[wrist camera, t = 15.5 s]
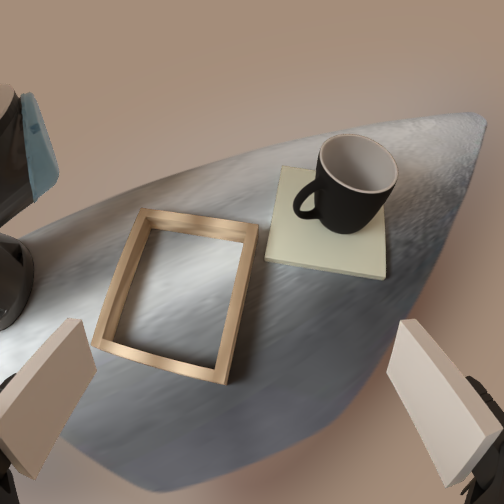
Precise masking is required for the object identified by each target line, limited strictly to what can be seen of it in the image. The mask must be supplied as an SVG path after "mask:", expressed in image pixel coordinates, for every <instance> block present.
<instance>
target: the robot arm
mask: <svg viewBox="0 0 504 504" xmlns="http://www.w3.org/2000/svg"><path fill="white" fill-rule="evenodd" d="M58 177H59V168H58V164H57V160H56V157H55V154H54V151H53V148H52V144H51V142H50V138H49V136H48V132H47V129H46V127H45V124H44V121H43V118H42V115H41V112H40V109H39V106H38V104H37V101H36V99H35V98H34V95H33V94H32V93H30V92H29V93H26V94H22V95H21V97H20V98H18V96H17V95H16V93H15V91H14V89H13V88H12V86H11V85H10V84H0V228H1V227H2V226H3V225H4V224H6V223H7V222H8V221H9V220H10V219H12V218H13V217H14V216H16V215H17V214H18V213H19V212H21V211H22V210H24V209H25V208H26V207H28V206H29V205H30V204H32V203H33V202H34V203H35V202H36V201H37V199H38V198H39V197H40V196H41V195H42V194H44V193H45V192H46V191H48V190H49V189H50V188H51V187H53V186H54V185H55V183H56V182H57V179H58ZM33 273H34V268H33V260H32V257H31V254H30V252H29V250H28V249H27V248H26V247H25V246H24V245H23V244H22V243H21V242H20V241H18V240H17V239H15V238H13V237H11V236H8V235H5V234H2V233H0V330H3V329H5V328H7V327H8V326H10V325H11V324H12V323H13V322H14V321H15V320H16V319H17V317H18V316H19V315H20V313H21V312H22V310H23V308H24V306H25V304H26V302H27V300H28V297H29V294H30V291H31V287H32V283H33ZM96 372H97V369H96V366H95V363H94V360H93V357H92V353H91V350H90V347H89V344H88V340H87V337H86V333H85V330H84V326H83V322H82V320H81V319H72V318H67V319H66V320H65V321H64V322H63V324H62V325H61V326H60V327H59V328H58V329H57V330H56V331H55V332H54V333H53V334H52V335H51V336H50V337H49V338H48V339H47V340H46V342H45V343H44V344H43V345H42V346H41V347H40V348H39V349H38V350H37V351H36V352H35V354H34V355H33V356H32V357H31V358H30V359H29V360H28V361H27V363H26V364H25V365H24V366H23V367H22V368H21V369H20V371H19V372H18V373H15V374H13V375H12V376H10V377H9V378H7V379H5V381H4V382H3V383H2V384H1V385H0V504H19V500H18V496H17V492H16V488H15V484H14V480H13V475H12V473H11V471H10V470H9V467H10V465H11V463H12V465H13V466H14V467H15V468H16V469H17V471H18V472H19V473H21V474H23V475H25V476H27V477H29V478H31V479H33V480H36V478H37V476H38V474H39V472H40V470H41V468H42V466H43V464H44V462H45V460H46V459H47V457H48V455H49V453H50V451H51V449H52V447H53V446H54V444H55V442H56V440H57V438H58V436H59V435H60V433H61V431H62V429H63V428H64V426H65V424H66V422H67V420H68V419H69V417H70V415H71V414H72V412H73V410H74V408H75V407H76V405H77V403H78V402H79V400H80V398H81V397H82V395H83V393H84V391H85V390H86V388H87V387H88V385H89V383H90V382H91V380H92V378H93V377H94V375H95V373H96ZM386 373H387V374H388V376H389V378H390V380H391V382H392V383H393V385H394V387H395V389H396V391H397V393H398V395H399V397H400V398H401V400H402V402H403V404H404V406H405V408H406V410H407V411H408V413H409V415H410V417H411V419H412V421H413V423H414V425H415V427H416V429H417V431H418V433H419V435H420V437H421V439H422V441H423V443H424V445H425V447H426V449H427V451H428V453H429V455H430V457H431V459H432V461H433V463H434V465H435V467H436V470H437V472H438V474H439V476H440V478H441V480H442V482H443V485H444V487H445V488H448V487H450V486H453V485H455V484H457V483H460V482H462V481H464V479H465V478H466V477H467V476H468V475H469V473H470V472H471V471H472V473H473V475H474V476H475V477H474V478H473V479H472V480H471V481H470V483H469V484H468V485H467V486H466V487H465V488H464V489H463V490H462V492H461V495H463V494H464V493H465V492H466V491H467V490H468V489H469V490H468V494H467V497H466V500H465V503H464V504H504V412H503V411H502V410H501V408H500V407H499V406H498V404H497V403H496V402H495V401H493V398H492V397H491V395H490V394H488V393H487V391H486V389H485V388H484V387H483V385H482V384H481V383H480V382H478V381H477V380H475V379H474V378H472V377H471V376H467V377H464V375H463V374H462V373H461V372H460V370H459V369H458V368H457V367H456V366H455V364H454V363H453V362H452V361H451V359H450V358H449V357H448V356H447V355H446V354H445V352H444V351H443V350H442V349H441V348H440V346H439V345H438V344H437V343H436V342H435V340H434V339H433V338H432V337H431V336H430V335H429V334H428V332H427V331H426V330H425V329H424V328H423V327H422V326H421V325H420V323H419V322H418V321H417V320H416V319H408V320H400V323H399V327H398V332H397V336H396V340H395V343H394V347H393V351H392V355H391V358H390V362H389V365H388V369H387V372H386Z"/></svg>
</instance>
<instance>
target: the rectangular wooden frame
mask: <svg viewBox="0 0 504 504" xmlns="http://www.w3.org/2000/svg"><path fill="white" fill-rule="evenodd" d="M152 228H153V229H159V230H166V231H172V232H178V233H185V234H191V235H197V236H204V237H210V238H216V239H222V240H229V241H235V242H241V243H244V244H243V249H242V253H241V257H240V261H239V266H238V270H237V274H236V278H235V283H234V287H233V291H232V296H231V300H230V304H229V309H228V313H227V317H226V322H225V326H224V330H223V335H222V339H221V343H220V348H219V352H218V357H217V361H216V366H215V370H213V369H209V368H204V367H200V366H196V365H192V364H188V363H184V362H180V361H176V360H172V359H168V358H164V357H161V356H157V355H154V354H150V353H147V352H143V351H140V350H137V349H133V348H130V347H127V346H124V345H120V344H117V343H114V342H113V339H114V336H115V333H116V329H117V326H118V323H119V319H120V316H121V313H122V310H123V307H124V304H125V301H126V298H127V295H128V292H129V289H130V286H131V283H132V280H133V277H134V274H135V271H136V269H137V266H138V263H139V260H140V258H141V255H142V252H143V250H144V247H145V244H146V242H147V239H148V236H149V234H150V231H151V229H152ZM258 231H259V225H257V224H251V223H245V222H238V221H231V220H225V219H218V218H211V217H204V216H197V215H190V214H183V213H176V212H168V211H161V210H153V209H146V208H141V209H140V211H139V213H138V216H137V218H136V220H135V222H134V225H133V227H132V230H131V232H130V234H129V237H128V239H127V242H126V244H125V247H124V249H123V252H122V254H121V257H120V259H119V262H118V264H117V267H116V270H115V272H114V275H113V278H112V281H111V283H110V286H109V289H108V292H107V295H106V298H105V301H104V304H103V307H102V310H101V313H100V316H99V319H98V322H97V325H96V328H95V332H94V335H93V338H92V342H91V346H93V347H95V348H98V349H100V350H102V351H105V352H108V353H111V354H114V355H117V356H120V357H123V358H126V359H129V360H132V361H135V362H138V363H142V364H145V365H148V366H152V367H155V368H158V369H162V370H166V371H169V372H173V373H177V374H180V375H184V376H188V377H192V378H196V379H200V380H204V381H209V382H213V383H218V384H222V385H227V381H228V377H229V372H230V367H231V363H232V358H233V353H234V349H235V344H236V339H237V335H238V330H239V325H240V321H241V316H242V312H243V307H244V302H245V298H246V293H247V288H248V283H249V279H250V274H251V269H252V265H253V260H254V255H255V251H256V246H257V241H258Z"/></svg>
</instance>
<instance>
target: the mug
mask: <svg viewBox="0 0 504 504" xmlns="http://www.w3.org/2000/svg"><path fill="white" fill-rule="evenodd" d="M397 178H398V167H397V164H396V162H395V160H394V158H393V157H392V155H391V154H390V153H389V152H388V151H387V150H386V149H385V148H384V147H383V146H382V145H380V144H379V143H377V142H375V141H374V140H371V139H369V138H367V137H364V136H360V135H355V134H341V135H336V136H333V137H331V138H329V139H328V140H326V141H325V142H324V143H323V145H322V147H321V149H320V152H319V155H318V161H317V167H316V175H315V180H313V181H312V182H310V183H309V184H307V185H306V186H305V187H303V188H302V189H301V190H300V191H299V192H298V194H297V195H296V197H295V199H294V201H293V211H294V213H295V214H296V215H297V216H298V217H299V218H301V219H305V220H311V219H319V220H320V222H321V223H322V224H323V225H324V226H325V227H326V228H327V229H329V230H330V231H332V232H334V233H338V234H352V233H355V232H357V231H359V230H361V229H362V228H364V227H365V226H366V225H367V224H368V223H369V222H370V221H371V220H372V219H373V218H374V216H375V215H376V214H377V213H378V211H379V210H380V209H381V207H382V206H383V204H384V203H385V201H386V200H387V198H388V197H389V195H390V193H391V192H392V190H393V188H394V186H395V184H396V182H397ZM313 193H314V204H315V207H314V208H313V209H312V210H310V211H301V210H300V208H301V205H302V204H303V202H304V201H305V200H306V199H307V198H308V197H309V196H310V195H311V194H313Z"/></svg>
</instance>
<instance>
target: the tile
mask: <svg viewBox="0 0 504 504" xmlns="http://www.w3.org/2000/svg"><path fill="white" fill-rule="evenodd" d="M315 175H316V171H314V170H308V169H301V168H295V167H289V166H282V168H281V174H280V179H279V184H278V190H277V195H276V200H275V206H274V211H273V216H272V221H271V226H270V232H269V237H268V242H267V247H266V252H265V257H264V261H267V262H273V263H279V264H285V265H291V266H297V267H303V268H309V269H315V270H321V271H327V272H334V273H340V274H346V275H352V276H358V277H364V278H371V279H377V280H384V279H385V278H386V247H385V221H384V204H383V206H382V207H381V209H380V210H379V211H378V213H377V214H376V215H375V216H374V218H373V219H372V220H371V221H370V222H369V223H368V224H367V225H366V226H365V227H364V228H362V229H361V230H359V231H357V232H355V233H352V234H338V233H334V232H332V231H330V230H329V229H327V228H326V227H325V226H324V225H323V224H322V223H321V222H320V220H319V219H311V220H305V219H301V218H299V217H298V216H297V215H296V214H295V213H294V211H293V201H294V199H295V197H296V195H297V194H298V192H299V191H300V190H301V189H302V188H303V187H305V186H306V185H307V184H309V183H310V182H312V181H313V180H315ZM314 207H315V204H314V193H313V194H311V195H310V196H309V197H308V198H307V199H306V200H305V201H304V202H303V204H302V205H301V208H300V210H301V211H310V210H312V209H313V208H314Z"/></svg>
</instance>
